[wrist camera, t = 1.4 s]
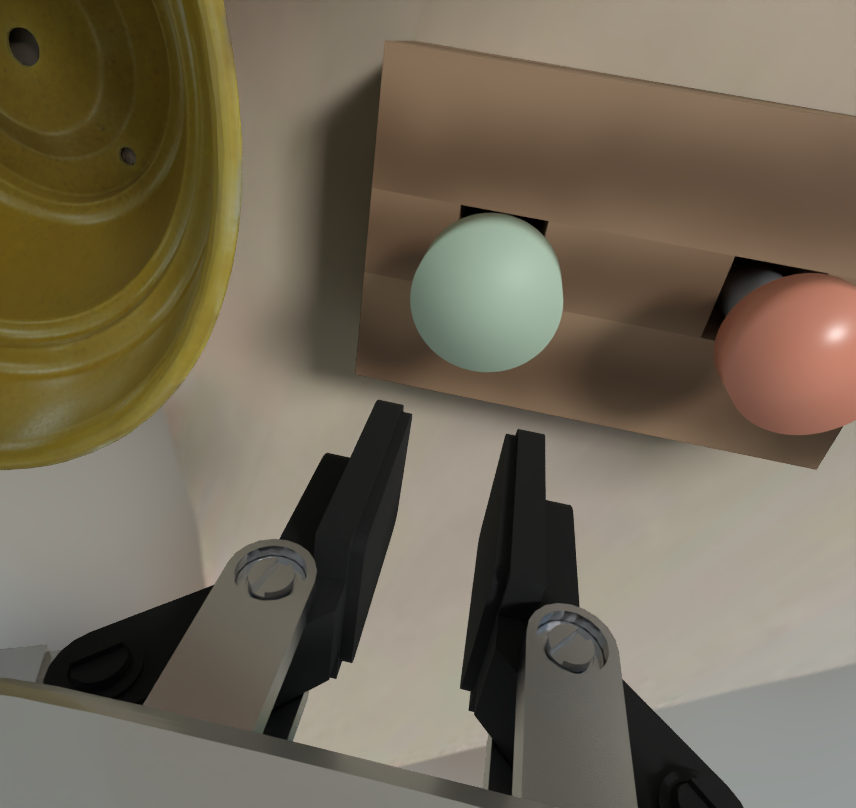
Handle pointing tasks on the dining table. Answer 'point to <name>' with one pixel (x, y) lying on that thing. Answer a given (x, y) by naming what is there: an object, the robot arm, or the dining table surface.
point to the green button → (488, 293)
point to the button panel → (603, 230)
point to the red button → (788, 348)
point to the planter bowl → (110, 214)
